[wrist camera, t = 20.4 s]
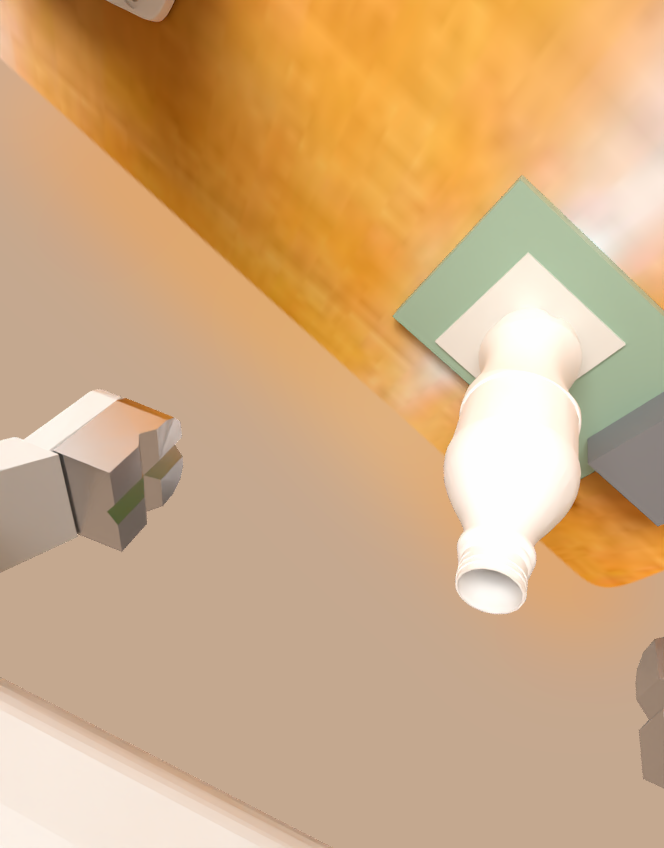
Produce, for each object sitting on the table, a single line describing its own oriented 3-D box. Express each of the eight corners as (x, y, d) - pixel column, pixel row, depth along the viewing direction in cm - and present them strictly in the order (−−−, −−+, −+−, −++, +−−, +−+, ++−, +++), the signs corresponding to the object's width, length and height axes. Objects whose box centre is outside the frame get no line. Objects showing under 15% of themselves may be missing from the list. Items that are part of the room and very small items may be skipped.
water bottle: (492, 386, 46) (428, 637, 27) (476, 307, 43) (390, 528, 24) (586, 376, 43) (588, 654, 24) (576, 289, 39) (570, 531, 20)
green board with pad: (397, 309, 47) (380, 334, 43) (522, 174, 38) (515, 190, 34) (616, 504, 50) (619, 543, 46) (780, 422, 41) (800, 462, 37)
